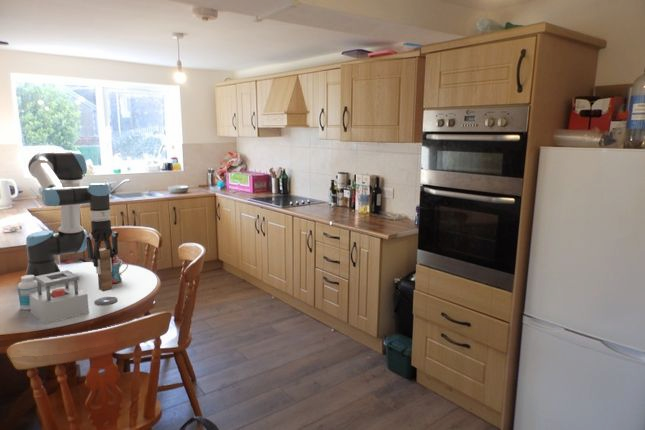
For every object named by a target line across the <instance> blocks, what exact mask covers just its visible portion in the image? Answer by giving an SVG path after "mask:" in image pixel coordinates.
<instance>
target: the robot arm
mask: <svg viewBox="0 0 645 430" xmlns="http://www.w3.org/2000/svg"><path fill="white" fill-rule="evenodd" d="M87 166H88V165H87V163H86V160H85V156H84V154H83V153H81V152H80V151H77V150H76V151H74V150H56V151H55V150H53V151H51V150H45V151H40V152H38V153H36V154H34V156H32V157H31V158H30V160H29V161H28V166H27V167H28V172H29V173H30V174H31V176H32V177H33V178H36V180H37V182H38V183H39V184H40V186H41V189H42V190H41V191H42V192H41V200H42V204H43V205H44V206H45V207H59V206H60V222H61V223H60V226H59V227H58V228H57V232H54V231H53V230H49V229H48V230H39V231H35V232H33V233H30V234H29V235H27V236H26V238H25V239H26V240H25V243H26V244H25V246H26V251H27V267H26V271H25V275H34V276H40V275H45V274H50V273H55V272H61V270H60V267H59V265H58V264H57V260H56V256H62V255H63V256H64V255H69V254H78V253H81V252H85V250H87V257H88V258H89V259H90V260H93V267H94V268H95V271H96V272H95V274H97V275H98V274H101V267H100V259H98V255H99V249H101V248H100V247H101V244H102V242H104V243H105V244H104V245H105V248H108V249H110V261H111V272H112V264H113V263H114V261H113V259H114V258H115V256H118V250H119V249H118V248H119V247H118V238H119V232H117V231H113V230H112V221H111V205H110V204H111V203H110V189H109V185H108V183H104V182H94V183H89V184H88V185H84V186H80V182H81V181H82V180H83V179H84V178H83V176H84V175H86V174H87V171H88V167H87ZM84 204H85V205H88V204H89V209H90V211H89V213H90V220H91V221H90V226H91V232H90V234H88V231H87V230H86V229H84V227H83V226H82V225H81V205H84ZM110 237H111V239H110ZM93 239H94V247H93V241H92V240H93ZM110 240H111V241H110ZM25 275H24V276H25ZM54 279H56V278H54ZM34 280H35V279H34ZM51 280H53V279H51Z"/></svg>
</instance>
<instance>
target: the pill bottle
mask: <svg viewBox="0 0 645 430" xmlns="http://www.w3.org/2000/svg"><path fill="white" fill-rule="evenodd" d="M34 279H35V276H34V275H23V276H20V280H21V282H19V283H18V285H17V291H18V300H19V301H18V302H19V308H20V309H21V310H23V311H29V310H30V311H31V308H30V298H29V294H33V293H37V292H38V285H37V281H36V280H34Z"/></svg>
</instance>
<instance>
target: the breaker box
mask: <svg viewBox="0 0 645 430" xmlns="http://www.w3.org/2000/svg"><path fill="white" fill-rule="evenodd" d="M54 278H55V279H54ZM51 279H52V280H51ZM35 280H36V281H37V285H38V292H37V293H33V294H29V298H30V308H31V310H30V314H31V315H33V316H34V317H35V318H37V320H39V321H40V322H42V323H43V324H44V325H47V324H51V323H55V322H58V321H62V320H65V319H69V318H74V317H76V316H80V314H81V315H84V313H85V314H87V313H89V312H90V310H89V297H88V293H87V292H86V291H83V290H82V289H80V288H79V284H78V283H79V282H78V281H79V280H80V276H79V275H77V274H75V273H73V272H72V271H70V270H68V269H67V270H60V272H55V273H50V274H45V275H40V276H35ZM71 282H73V284H69V283H71ZM61 284H64V286H62V287H56V288H51V287H52V286H56V285H61ZM42 286H44V287H45V289H46V290H42ZM50 288H51V289H50ZM56 289H64V290H65V295H63V296H59V297H54V298H52V291H53V290H56Z"/></svg>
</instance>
